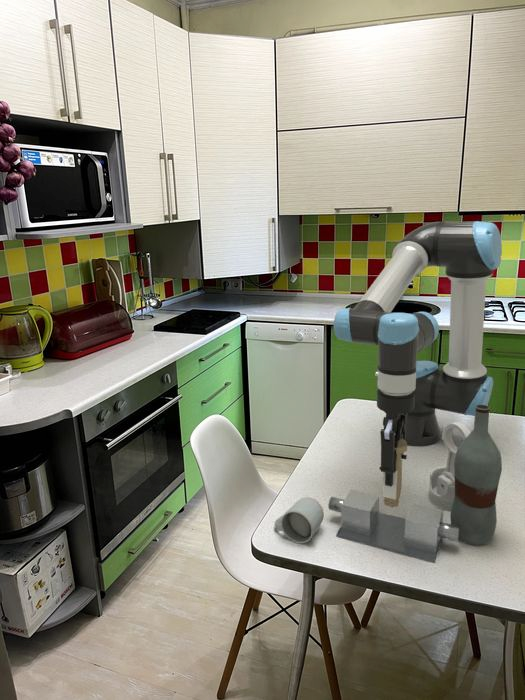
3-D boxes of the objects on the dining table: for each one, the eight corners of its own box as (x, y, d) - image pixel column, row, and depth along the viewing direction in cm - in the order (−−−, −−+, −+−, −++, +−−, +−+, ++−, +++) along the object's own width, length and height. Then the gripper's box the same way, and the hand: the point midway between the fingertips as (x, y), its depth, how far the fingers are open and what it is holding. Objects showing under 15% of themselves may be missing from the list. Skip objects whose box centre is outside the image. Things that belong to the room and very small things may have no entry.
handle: (394, 494, 118) (396, 433, 114) (408, 510, 112) (411, 446, 108) (374, 498, 117) (376, 436, 113) (388, 514, 111) (390, 449, 107)
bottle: (448, 543, 113) (458, 412, 105) (449, 519, 121) (457, 396, 113) (496, 551, 110) (510, 417, 102) (493, 525, 118) (505, 400, 110)
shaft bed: (339, 505, 128) (339, 480, 126) (461, 534, 116) (463, 508, 114) (321, 532, 118) (321, 506, 116) (452, 568, 105) (455, 539, 104)
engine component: (451, 485, 135) (420, 494, 131) (457, 410, 130) (424, 418, 126) (484, 506, 126) (451, 517, 122) (491, 427, 120) (457, 436, 116)
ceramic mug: (326, 526, 120) (325, 496, 118) (313, 547, 113) (312, 516, 111) (283, 516, 125) (282, 487, 123) (268, 536, 118) (266, 505, 116)
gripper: (388, 375, 116) (385, 470, 123) (365, 401, 102) (363, 508, 109) (423, 379, 113) (418, 477, 120) (404, 407, 99) (400, 516, 105)
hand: (392, 491), depth 114 cm, fingers closed on handle, 4 cm apart
